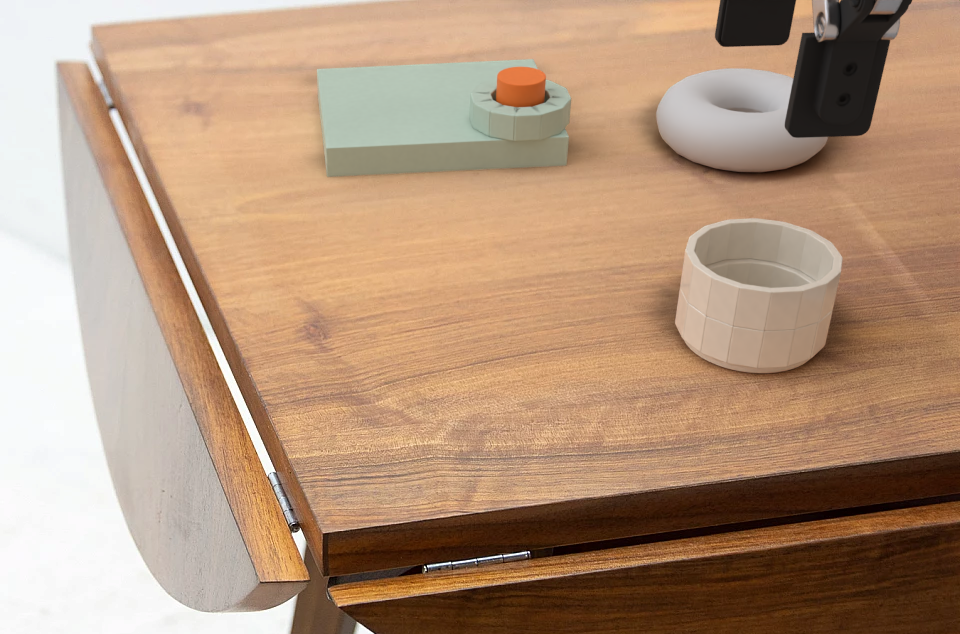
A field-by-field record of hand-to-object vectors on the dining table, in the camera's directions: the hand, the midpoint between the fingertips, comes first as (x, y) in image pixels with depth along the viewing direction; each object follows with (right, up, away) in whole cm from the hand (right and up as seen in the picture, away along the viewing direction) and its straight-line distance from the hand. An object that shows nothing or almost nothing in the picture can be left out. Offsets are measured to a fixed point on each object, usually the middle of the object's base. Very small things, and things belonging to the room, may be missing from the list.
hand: (785, 85), depth 58 cm
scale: (-12, +4, +28) cm, 30 cm away
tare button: (-8, +5, +23) cm, 25 cm away
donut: (+5, +2, +25) cm, 25 cm away
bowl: (+1, -10, +8) cm, 13 cm away
